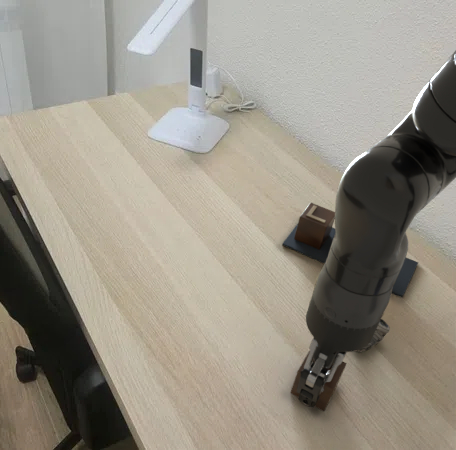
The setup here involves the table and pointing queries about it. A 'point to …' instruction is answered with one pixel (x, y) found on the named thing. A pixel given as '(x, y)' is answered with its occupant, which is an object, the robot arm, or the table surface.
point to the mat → (322, 254)
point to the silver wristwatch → (377, 335)
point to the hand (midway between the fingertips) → (314, 386)
